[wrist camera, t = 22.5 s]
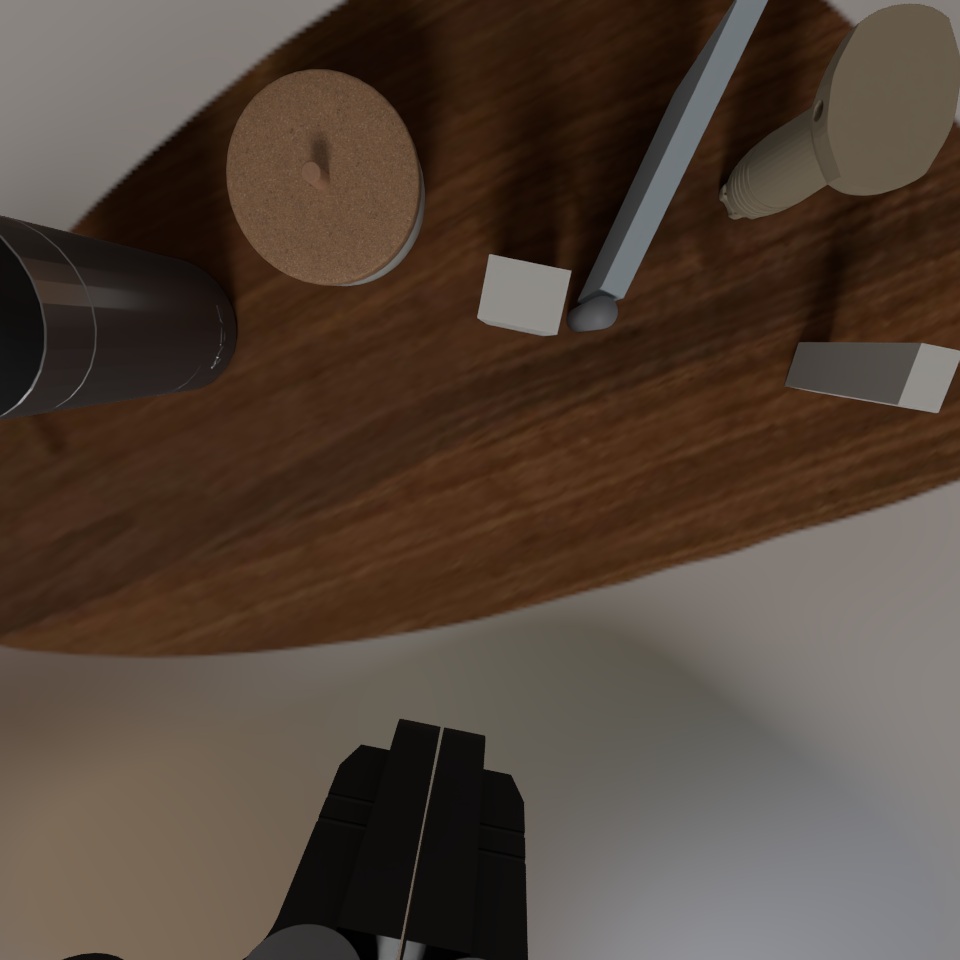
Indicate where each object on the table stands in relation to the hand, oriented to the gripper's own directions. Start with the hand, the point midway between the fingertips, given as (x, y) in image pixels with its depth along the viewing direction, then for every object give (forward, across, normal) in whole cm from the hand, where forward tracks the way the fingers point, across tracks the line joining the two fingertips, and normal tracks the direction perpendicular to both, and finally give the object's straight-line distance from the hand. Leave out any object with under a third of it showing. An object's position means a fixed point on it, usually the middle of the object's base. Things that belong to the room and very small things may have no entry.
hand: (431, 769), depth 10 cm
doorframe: (+33, -9, -9) cm, 35 cm away
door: (+32, -6, -16) cm, 36 cm away
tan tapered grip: (+33, -13, -19) cm, 40 cm away
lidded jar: (+33, +12, -14) cm, 38 cm away
